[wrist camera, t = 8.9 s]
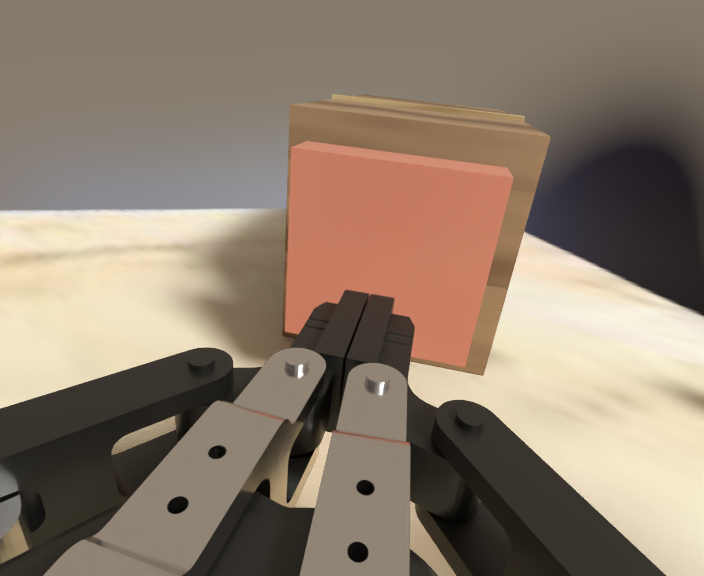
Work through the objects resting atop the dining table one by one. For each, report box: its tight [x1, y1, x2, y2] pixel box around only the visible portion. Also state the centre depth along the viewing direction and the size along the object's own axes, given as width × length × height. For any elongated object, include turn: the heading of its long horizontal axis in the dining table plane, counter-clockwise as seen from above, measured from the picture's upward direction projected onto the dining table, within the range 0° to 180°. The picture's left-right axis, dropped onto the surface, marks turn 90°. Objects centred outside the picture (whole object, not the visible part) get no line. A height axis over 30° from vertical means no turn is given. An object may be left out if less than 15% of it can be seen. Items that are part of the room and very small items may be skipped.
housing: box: [283, 94, 551, 375], centre depth 32 cm, size 20×12×13 cm, turn 168°
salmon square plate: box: [285, 141, 514, 367], centre depth 26 cm, size 20×8×8 cm, turn 168°
